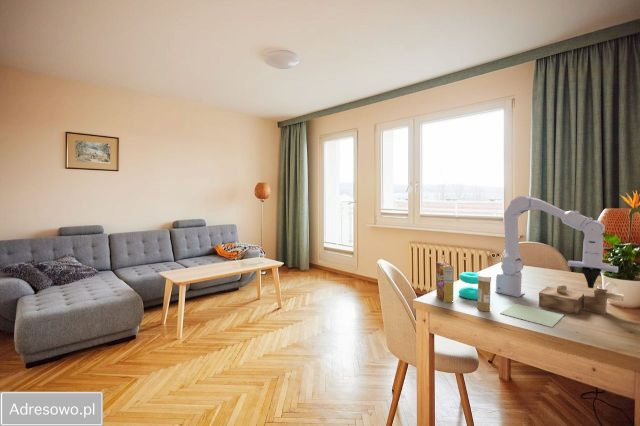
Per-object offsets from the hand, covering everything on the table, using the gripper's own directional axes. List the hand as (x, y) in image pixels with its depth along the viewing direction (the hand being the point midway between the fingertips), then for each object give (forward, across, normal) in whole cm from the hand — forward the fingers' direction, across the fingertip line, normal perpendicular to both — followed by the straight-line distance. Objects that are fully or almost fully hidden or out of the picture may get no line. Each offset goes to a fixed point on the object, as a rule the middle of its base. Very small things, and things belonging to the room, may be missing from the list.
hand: (590, 287), depth 120 cm
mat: (+9, +13, +22) cm, 27 cm away
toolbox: (+9, +8, +4) cm, 13 cm away
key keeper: (+9, -2, 0) cm, 9 cm away
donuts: (+9, +37, +18) cm, 42 cm away
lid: (+4, +8, +5) cm, 10 cm away
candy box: (+9, +43, +30) cm, 53 cm away
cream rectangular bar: (+3, -5, 0) cm, 6 cm away
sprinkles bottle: (+9, +27, +30) cm, 42 cm away
